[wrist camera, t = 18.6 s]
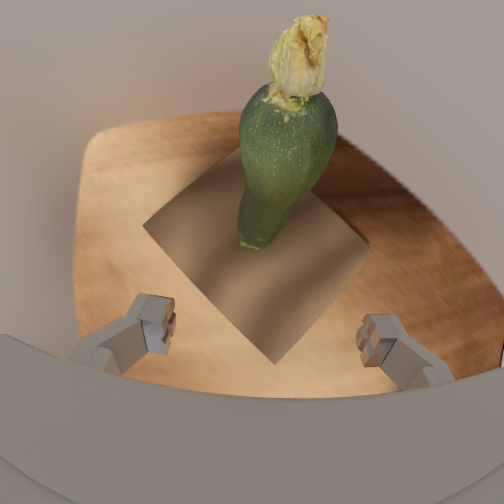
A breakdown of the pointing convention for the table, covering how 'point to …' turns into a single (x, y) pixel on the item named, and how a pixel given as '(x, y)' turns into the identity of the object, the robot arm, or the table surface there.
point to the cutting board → (258, 258)
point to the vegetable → (285, 132)
